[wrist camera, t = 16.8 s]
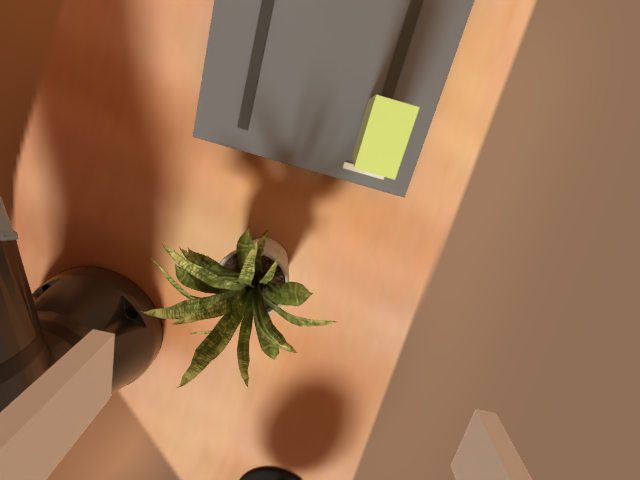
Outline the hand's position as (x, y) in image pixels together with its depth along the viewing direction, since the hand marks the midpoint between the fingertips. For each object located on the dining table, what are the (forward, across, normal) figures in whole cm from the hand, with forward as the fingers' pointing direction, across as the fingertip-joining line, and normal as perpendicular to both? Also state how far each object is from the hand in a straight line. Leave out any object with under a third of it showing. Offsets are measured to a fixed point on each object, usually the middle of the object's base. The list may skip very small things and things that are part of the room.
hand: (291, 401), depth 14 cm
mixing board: (+28, +2, -16) cm, 32 cm away
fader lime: (+25, -3, -9) cm, 27 cm away
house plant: (+28, +4, +5) cm, 29 cm away
